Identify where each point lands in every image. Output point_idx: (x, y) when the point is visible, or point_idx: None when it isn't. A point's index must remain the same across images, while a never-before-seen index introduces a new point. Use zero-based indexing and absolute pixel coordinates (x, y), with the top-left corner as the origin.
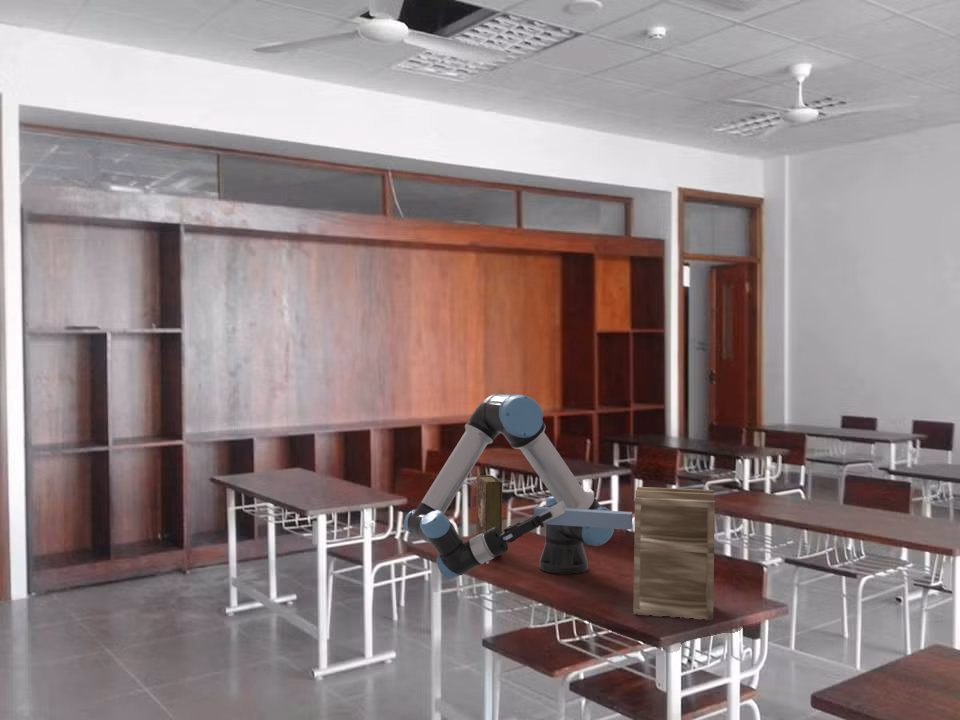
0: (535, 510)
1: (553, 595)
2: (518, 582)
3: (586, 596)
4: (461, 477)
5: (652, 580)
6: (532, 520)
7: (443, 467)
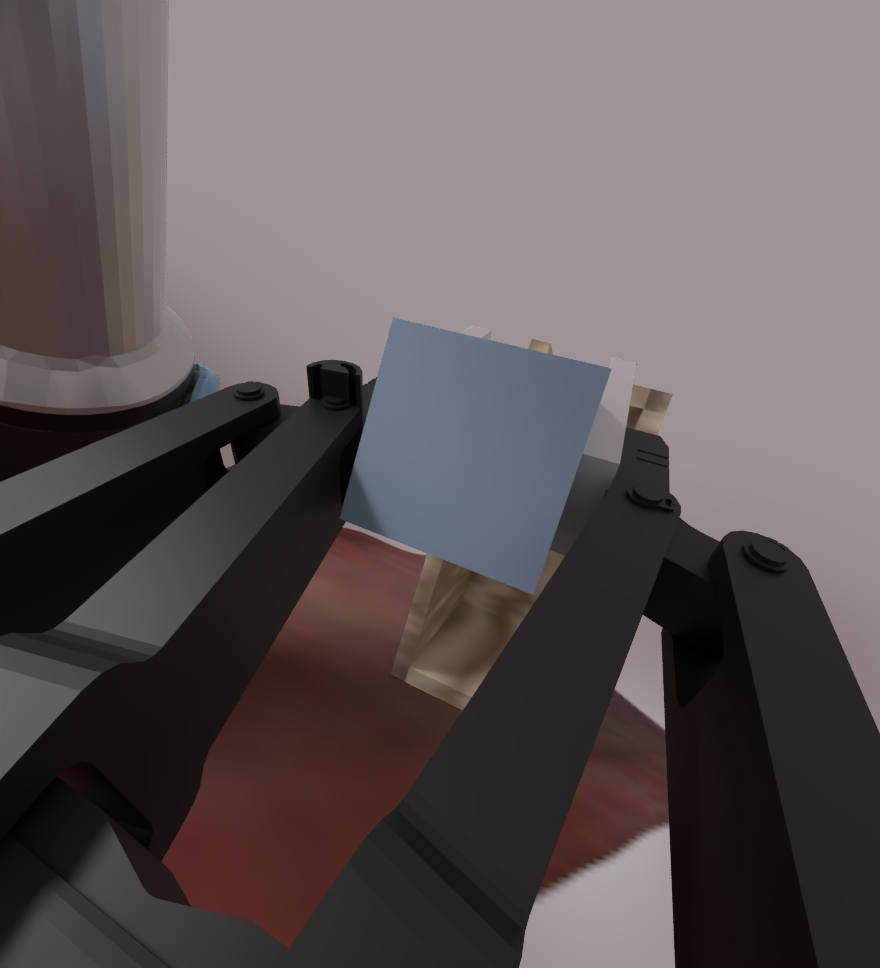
0: (600, 399)
1: None
2: None
3: (294, 782)
4: None
5: (438, 605)
6: (806, 598)
7: None
